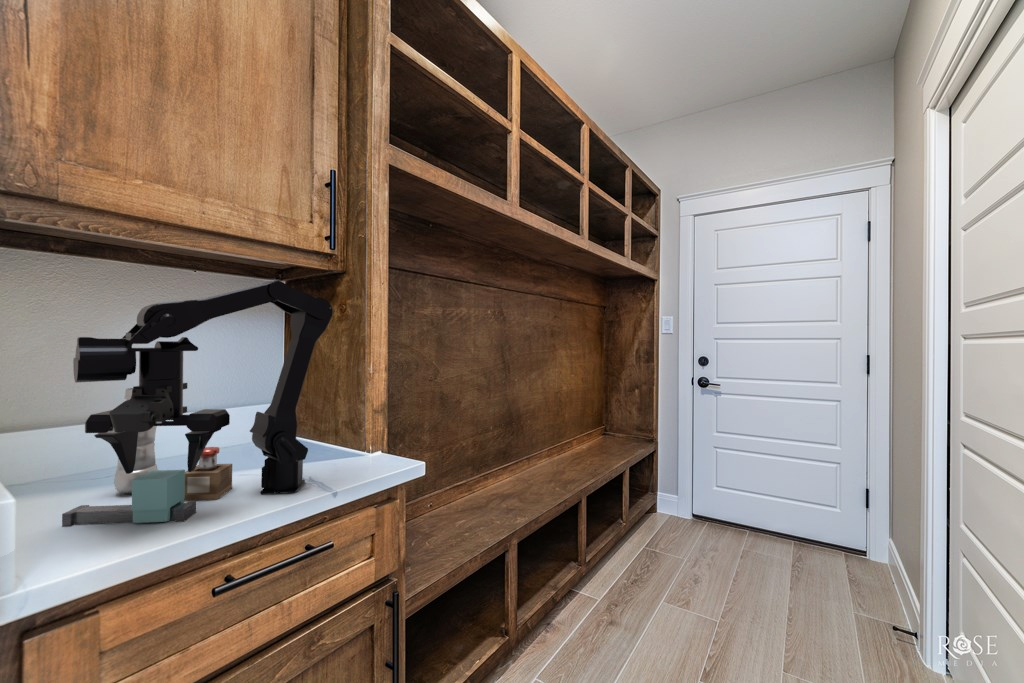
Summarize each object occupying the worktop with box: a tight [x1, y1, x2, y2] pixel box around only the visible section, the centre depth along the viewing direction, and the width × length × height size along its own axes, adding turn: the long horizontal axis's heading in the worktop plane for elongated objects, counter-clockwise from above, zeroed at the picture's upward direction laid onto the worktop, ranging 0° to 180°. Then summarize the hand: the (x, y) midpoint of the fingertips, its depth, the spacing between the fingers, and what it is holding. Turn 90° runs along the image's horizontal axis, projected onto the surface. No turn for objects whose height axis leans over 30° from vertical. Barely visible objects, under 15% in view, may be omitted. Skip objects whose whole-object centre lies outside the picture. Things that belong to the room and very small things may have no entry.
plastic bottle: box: [113, 387, 159, 494], centre depth 85 cm, size 6×7×20 cm
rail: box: [61, 500, 197, 528], centre depth 72 cm, size 17×4×2 cm, turn 99°
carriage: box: [131, 469, 186, 524], centre depth 73 cm, size 5×5×7 cm
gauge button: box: [198, 446, 220, 471], centre depth 84 cm, size 4×4×6 cm
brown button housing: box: [184, 463, 233, 502], centre depth 84 cm, size 6×6×5 cm
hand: (160, 472), depth 73 cm, fingers open, 9 cm apart
